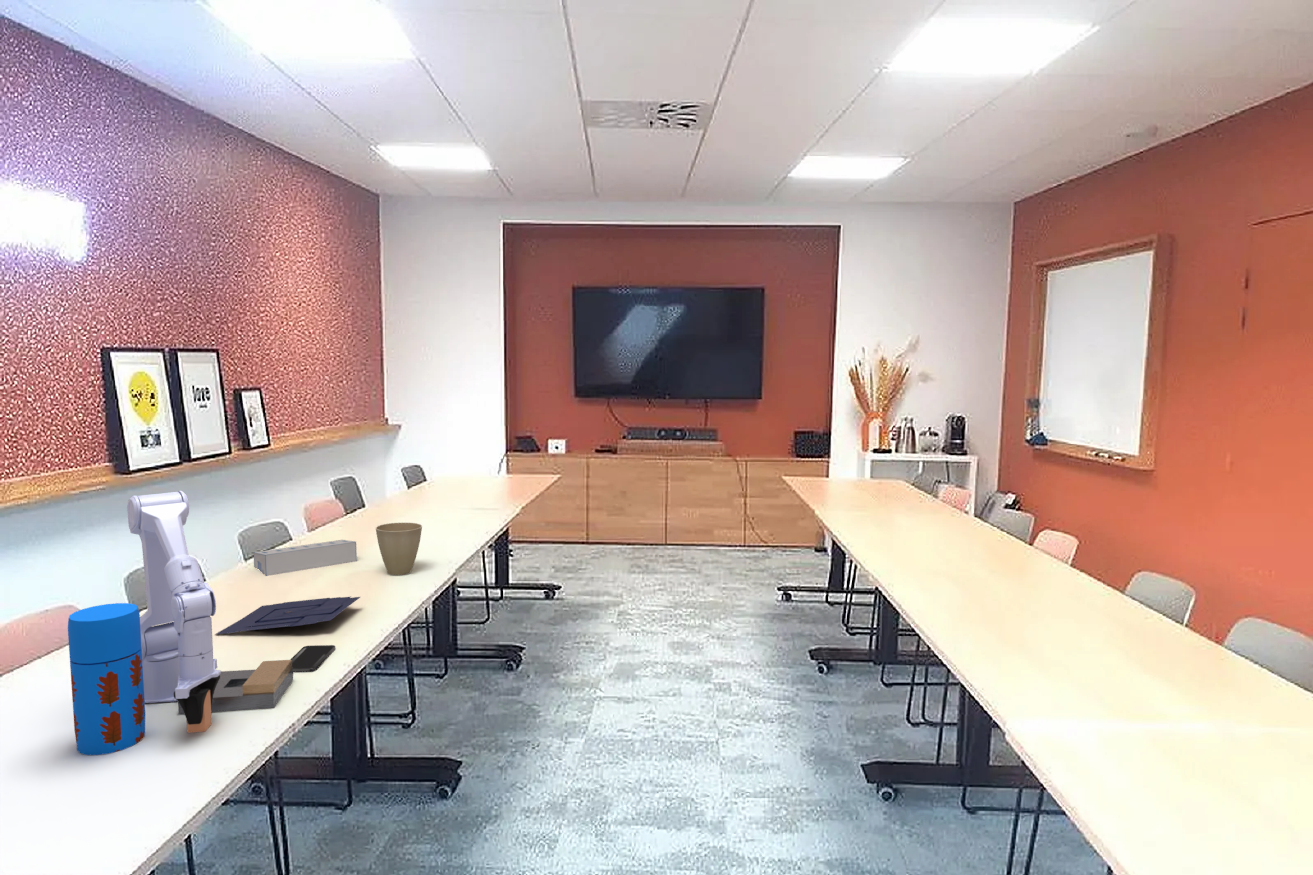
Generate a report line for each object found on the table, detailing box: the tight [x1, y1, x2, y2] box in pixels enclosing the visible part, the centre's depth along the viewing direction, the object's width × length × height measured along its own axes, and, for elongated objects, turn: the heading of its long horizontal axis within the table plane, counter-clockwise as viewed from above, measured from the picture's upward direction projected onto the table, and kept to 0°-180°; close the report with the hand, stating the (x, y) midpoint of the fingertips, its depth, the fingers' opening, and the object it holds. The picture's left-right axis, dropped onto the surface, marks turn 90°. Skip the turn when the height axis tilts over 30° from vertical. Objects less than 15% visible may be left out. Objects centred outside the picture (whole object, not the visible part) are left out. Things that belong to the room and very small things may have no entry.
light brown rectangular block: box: [186, 690, 213, 734], centre depth 149 cm, size 3×3×7 cm
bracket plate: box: [177, 659, 294, 715], centre depth 163 cm, size 18×14×5 cm
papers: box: [214, 596, 361, 635], centre depth 211 cm, size 24×30×4 cm
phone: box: [289, 644, 336, 674], centre depth 184 cm, size 8×1×15 cm
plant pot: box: [375, 522, 423, 576], centre depth 259 cm, size 15×15×16 cm
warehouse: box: [253, 539, 358, 577], centre depth 269 cm, size 30×14×8 cm, turn 132°
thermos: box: [67, 602, 146, 756], centre depth 143 cm, size 11×11×25 cm
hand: (199, 718), depth 149 cm, fingers open, 3 cm apart
